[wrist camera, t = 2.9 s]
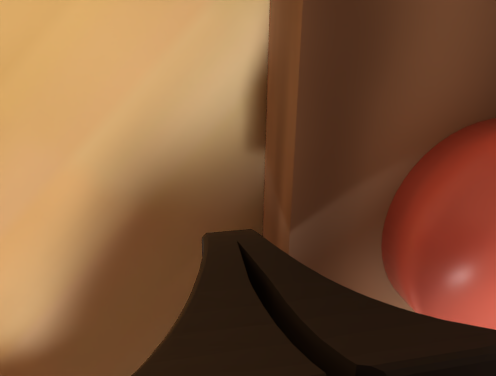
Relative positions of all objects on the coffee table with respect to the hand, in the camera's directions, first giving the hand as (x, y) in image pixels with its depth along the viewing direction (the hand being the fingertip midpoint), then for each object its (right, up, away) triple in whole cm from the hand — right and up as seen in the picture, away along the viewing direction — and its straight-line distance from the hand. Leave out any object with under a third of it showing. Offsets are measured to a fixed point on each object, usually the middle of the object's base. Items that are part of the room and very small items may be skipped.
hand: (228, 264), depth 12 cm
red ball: (+8, +1, +3) cm, 9 cm away
